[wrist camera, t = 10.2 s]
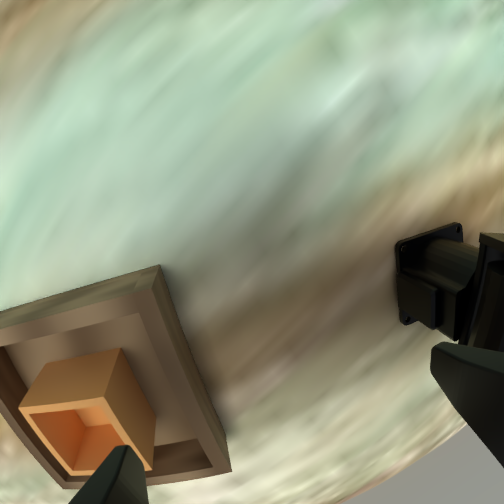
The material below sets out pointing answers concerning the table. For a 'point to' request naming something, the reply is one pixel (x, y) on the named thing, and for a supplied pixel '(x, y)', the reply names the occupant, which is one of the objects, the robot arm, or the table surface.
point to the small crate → (90, 411)
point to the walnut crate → (138, 357)
